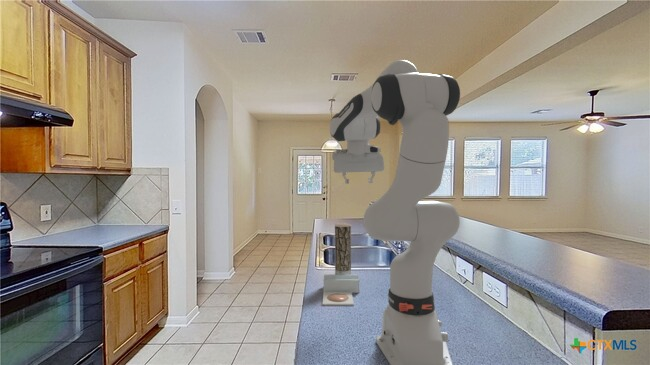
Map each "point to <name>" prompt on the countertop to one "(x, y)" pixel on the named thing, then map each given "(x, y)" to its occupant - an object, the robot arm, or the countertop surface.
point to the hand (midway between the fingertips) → (358, 183)
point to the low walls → (341, 283)
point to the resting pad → (338, 298)
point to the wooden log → (342, 249)
